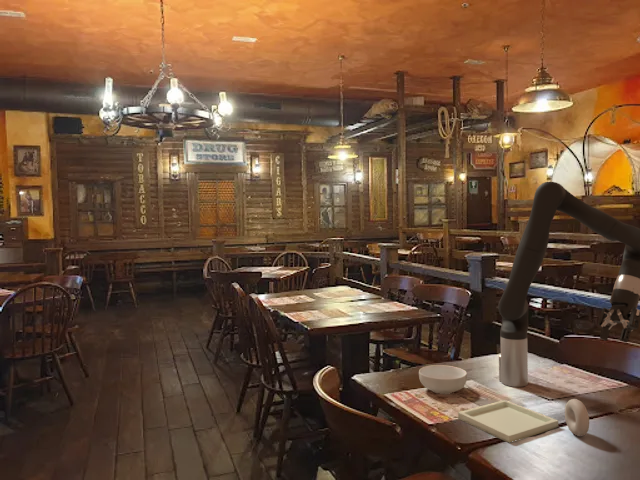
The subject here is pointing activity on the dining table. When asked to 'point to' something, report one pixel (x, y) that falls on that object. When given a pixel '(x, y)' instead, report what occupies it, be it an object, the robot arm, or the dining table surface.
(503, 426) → the tray
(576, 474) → the dining table surface
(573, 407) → the donut
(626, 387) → the dining table surface
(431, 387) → the cereal bowl
